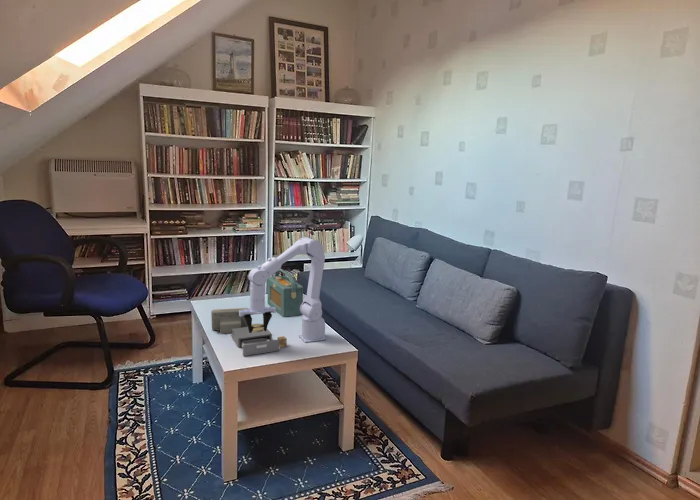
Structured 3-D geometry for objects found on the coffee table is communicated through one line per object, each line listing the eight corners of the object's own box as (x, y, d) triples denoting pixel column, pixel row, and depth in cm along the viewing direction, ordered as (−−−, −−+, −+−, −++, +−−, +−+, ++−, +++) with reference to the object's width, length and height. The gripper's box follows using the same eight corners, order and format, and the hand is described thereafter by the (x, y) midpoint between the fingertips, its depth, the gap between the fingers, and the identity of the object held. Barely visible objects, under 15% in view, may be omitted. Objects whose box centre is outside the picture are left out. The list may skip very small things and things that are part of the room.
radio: (266, 303, 251) (266, 267, 247) (285, 301, 256) (285, 265, 253) (283, 318, 229) (283, 278, 225) (303, 315, 234) (304, 276, 230)
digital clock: (249, 327, 215) (249, 305, 213) (247, 334, 206) (247, 311, 204) (213, 327, 214) (213, 304, 212) (209, 334, 205) (208, 310, 203)
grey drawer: (270, 340, 200) (270, 330, 199) (279, 350, 189) (279, 340, 188) (236, 344, 193) (236, 334, 192) (243, 356, 182) (243, 345, 182)
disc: (262, 326, 193) (262, 323, 193) (266, 331, 188) (266, 327, 188) (249, 328, 191) (249, 324, 190) (252, 332, 186) (252, 328, 186)
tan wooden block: (284, 344, 196) (284, 336, 196) (286, 346, 194) (286, 338, 193) (277, 345, 195) (277, 337, 194) (279, 347, 192) (279, 339, 192)
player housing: (263, 333, 208) (263, 324, 207) (271, 343, 197) (271, 334, 196) (231, 337, 201) (231, 328, 201) (238, 347, 191) (238, 338, 190)
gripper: (241, 303, 180) (242, 336, 183) (278, 299, 187) (277, 332, 189) (237, 298, 187) (237, 330, 189) (272, 295, 193) (272, 326, 195)
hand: (257, 331), depth 190 cm, fingers closed on disc, 5 cm apart
